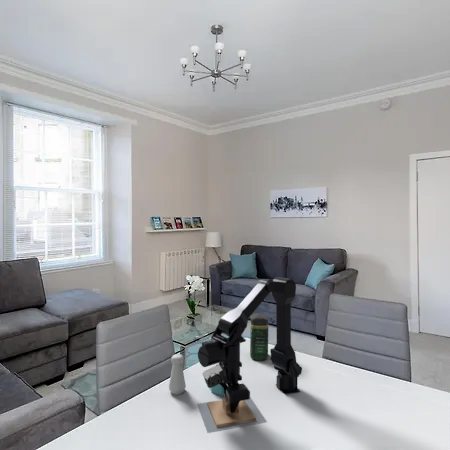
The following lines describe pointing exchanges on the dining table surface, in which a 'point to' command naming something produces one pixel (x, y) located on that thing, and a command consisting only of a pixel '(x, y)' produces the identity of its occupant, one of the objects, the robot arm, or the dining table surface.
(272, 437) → the dining table surface
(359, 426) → the dining table surface
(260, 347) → the coffee jar
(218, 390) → the bowl
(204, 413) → the mat
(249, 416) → the lid
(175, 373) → the salt shaker
